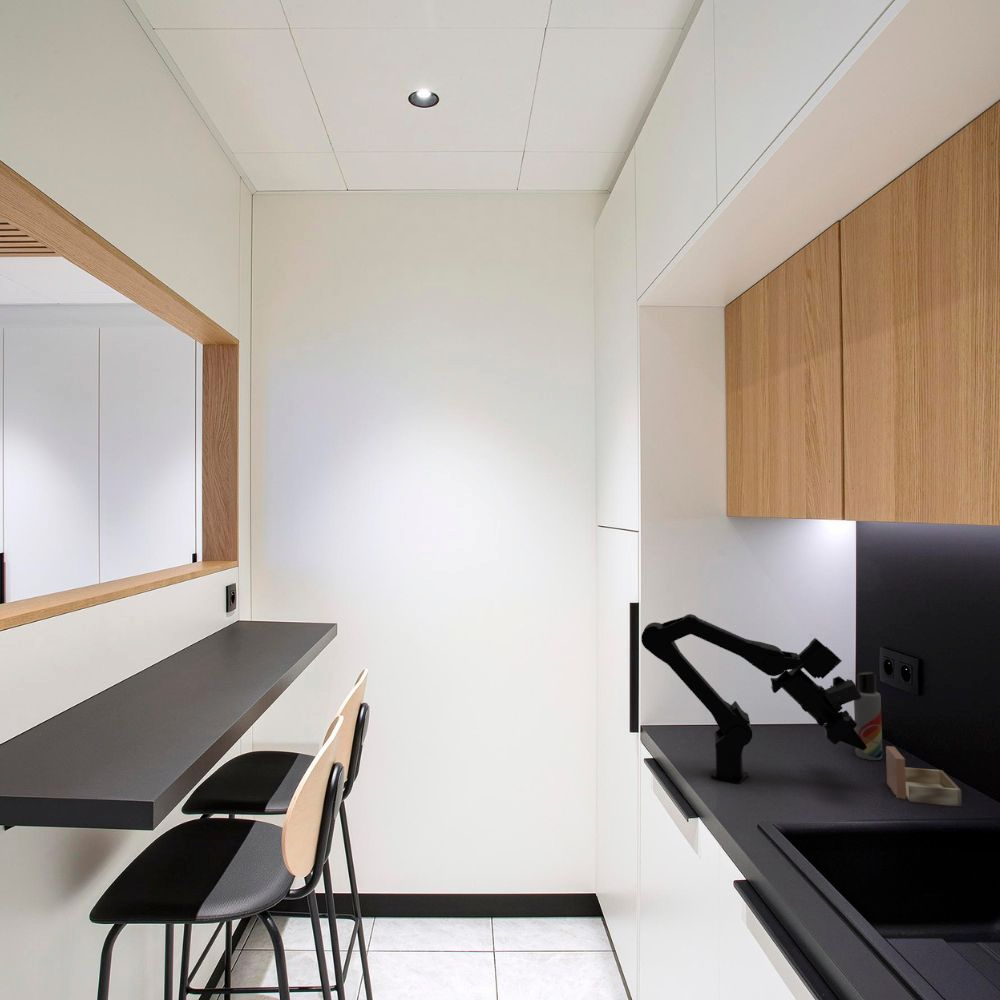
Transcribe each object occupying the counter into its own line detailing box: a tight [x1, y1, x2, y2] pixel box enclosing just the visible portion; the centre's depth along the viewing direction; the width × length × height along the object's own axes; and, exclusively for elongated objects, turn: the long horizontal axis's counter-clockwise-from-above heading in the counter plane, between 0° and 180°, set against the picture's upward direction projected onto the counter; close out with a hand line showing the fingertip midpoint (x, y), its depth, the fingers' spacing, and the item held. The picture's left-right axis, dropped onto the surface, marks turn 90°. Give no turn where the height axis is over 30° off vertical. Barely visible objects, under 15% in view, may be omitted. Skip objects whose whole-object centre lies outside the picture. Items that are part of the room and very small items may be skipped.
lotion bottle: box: [853, 671, 883, 761], centre depth 165 cm, size 6×6×20 cm
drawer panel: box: [885, 745, 907, 800], centre depth 144 cm, size 2×8×8 cm, turn 164°
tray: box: [905, 766, 963, 807], centre depth 143 cm, size 9×11×3 cm
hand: (865, 748), depth 146 cm, fingers closed
